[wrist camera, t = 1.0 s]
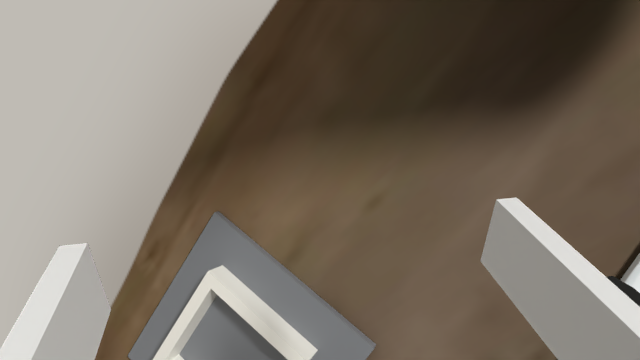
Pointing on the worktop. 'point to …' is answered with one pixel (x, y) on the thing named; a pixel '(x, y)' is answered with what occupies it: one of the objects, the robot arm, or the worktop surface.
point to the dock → (243, 309)
